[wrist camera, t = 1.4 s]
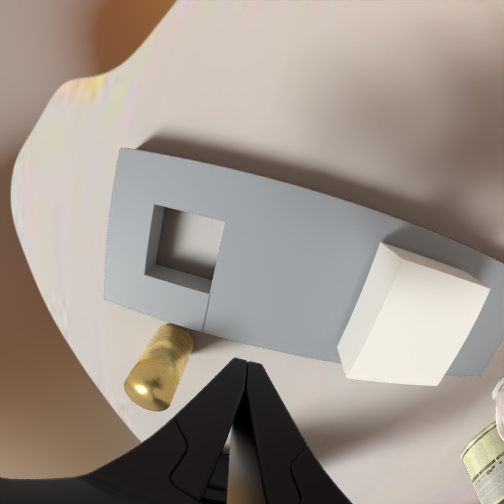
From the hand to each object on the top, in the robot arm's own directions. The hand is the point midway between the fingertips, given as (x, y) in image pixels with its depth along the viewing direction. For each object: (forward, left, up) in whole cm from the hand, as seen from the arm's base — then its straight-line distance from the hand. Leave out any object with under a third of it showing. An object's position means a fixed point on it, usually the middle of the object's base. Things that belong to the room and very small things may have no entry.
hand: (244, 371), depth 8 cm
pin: (-8, +5, -10) cm, 14 cm away
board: (0, -6, -10) cm, 12 cm away
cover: (0, -9, -8) cm, 12 cm away
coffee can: (-19, -41, -11) cm, 47 cm away
